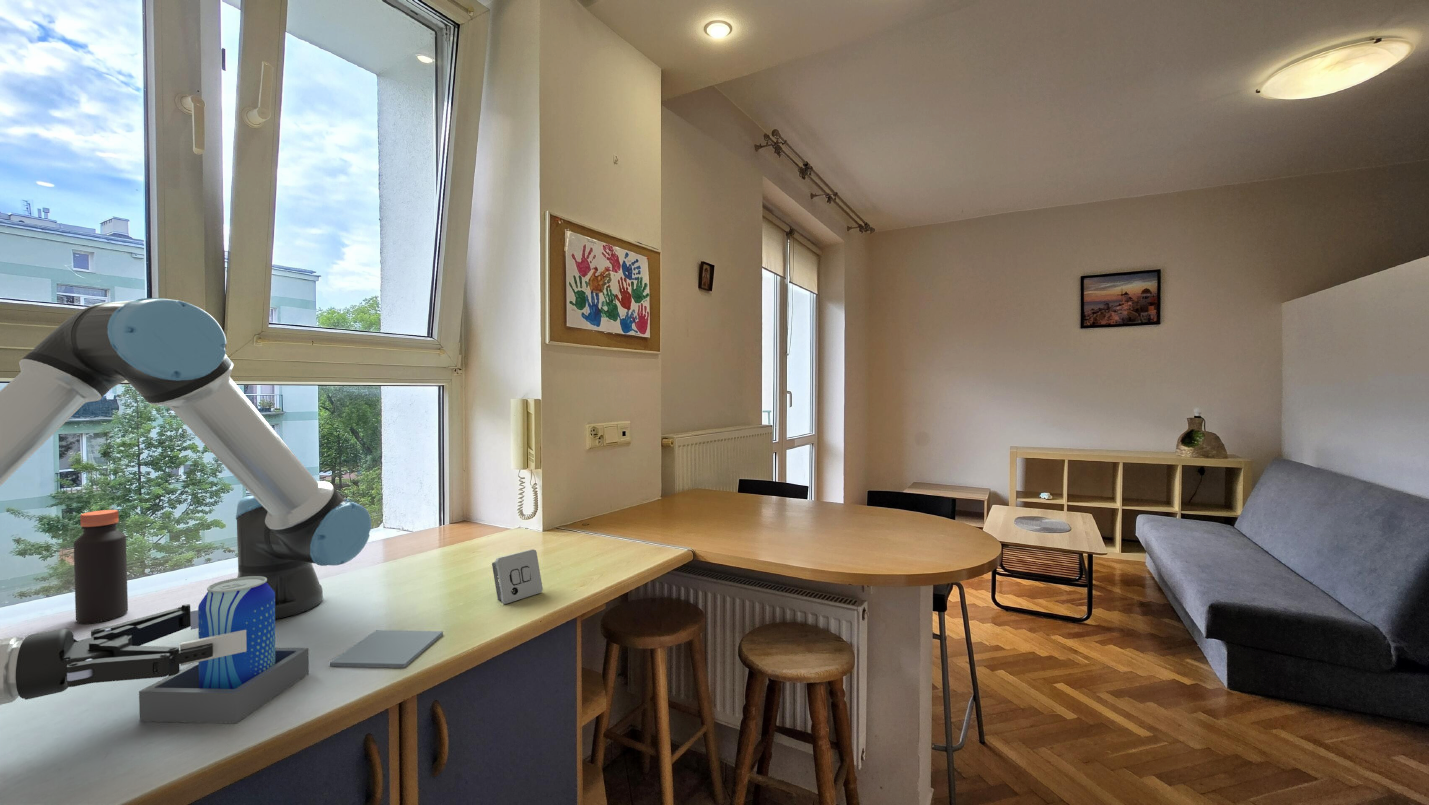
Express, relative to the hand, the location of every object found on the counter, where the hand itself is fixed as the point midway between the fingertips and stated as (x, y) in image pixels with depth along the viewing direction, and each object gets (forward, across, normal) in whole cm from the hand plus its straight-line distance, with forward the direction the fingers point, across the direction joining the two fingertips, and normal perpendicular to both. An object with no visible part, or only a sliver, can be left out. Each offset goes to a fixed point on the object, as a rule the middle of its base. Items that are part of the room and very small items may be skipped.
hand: (247, 623), depth 83 cm
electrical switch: (+44, -14, -10) cm, 47 cm away
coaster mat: (+18, -3, -10) cm, 21 cm away
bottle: (-22, -51, -10) cm, 56 cm away
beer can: (-1, 0, -10) cm, 10 cm away
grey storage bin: (-2, 0, -10) cm, 10 cm away
